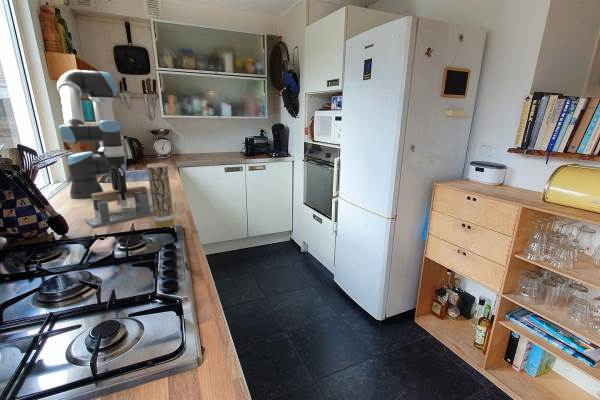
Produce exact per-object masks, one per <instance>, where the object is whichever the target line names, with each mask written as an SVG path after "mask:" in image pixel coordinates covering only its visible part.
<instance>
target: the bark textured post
mask: <svg viewBox="0 0 600 400" xmlns="http://www.w3.org/2000/svg"><path fill="white" fill-rule="evenodd" d="M146 167H147V174H148V182H149V183H148V184H149V189H150V198H151V207H153V221H154V222H153V223H154V228H155V229H156V228H162V227H170V226H174V227H175V222H174V213H173V204H172V203H173V202H172V195H171V194H172V193H171V185H170V177H169V167H168V163H165V162H163V163H162V162H161V163H160V162H158V163H157V162H155V163H149V164H147V166H146Z"/></svg>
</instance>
